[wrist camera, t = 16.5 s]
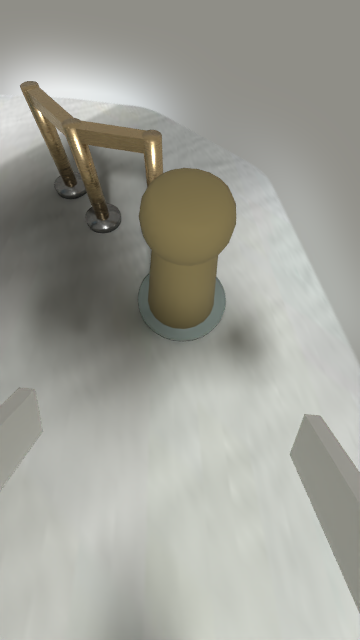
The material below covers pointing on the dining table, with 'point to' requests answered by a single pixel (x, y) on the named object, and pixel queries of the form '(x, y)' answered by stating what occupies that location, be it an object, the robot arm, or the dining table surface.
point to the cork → (185, 242)
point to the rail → (79, 138)
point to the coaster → (182, 333)
